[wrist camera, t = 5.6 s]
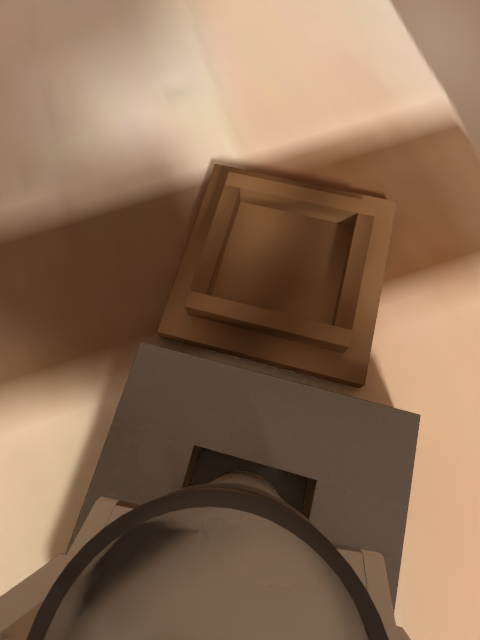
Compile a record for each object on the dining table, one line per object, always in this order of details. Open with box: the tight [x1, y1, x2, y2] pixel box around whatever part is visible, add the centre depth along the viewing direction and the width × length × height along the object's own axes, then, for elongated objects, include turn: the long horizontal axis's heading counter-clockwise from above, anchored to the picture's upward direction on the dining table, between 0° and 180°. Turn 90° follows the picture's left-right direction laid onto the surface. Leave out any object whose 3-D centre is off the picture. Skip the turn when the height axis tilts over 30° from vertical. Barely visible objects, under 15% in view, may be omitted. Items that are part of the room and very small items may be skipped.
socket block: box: [65, 342, 420, 612], centre depth 17 cm, size 12×12×2 cm
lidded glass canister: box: [26, 471, 389, 640], centre depth 11 cm, size 4×4×14 cm
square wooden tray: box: [157, 164, 397, 388], centre depth 21 cm, size 10×10×2 cm
